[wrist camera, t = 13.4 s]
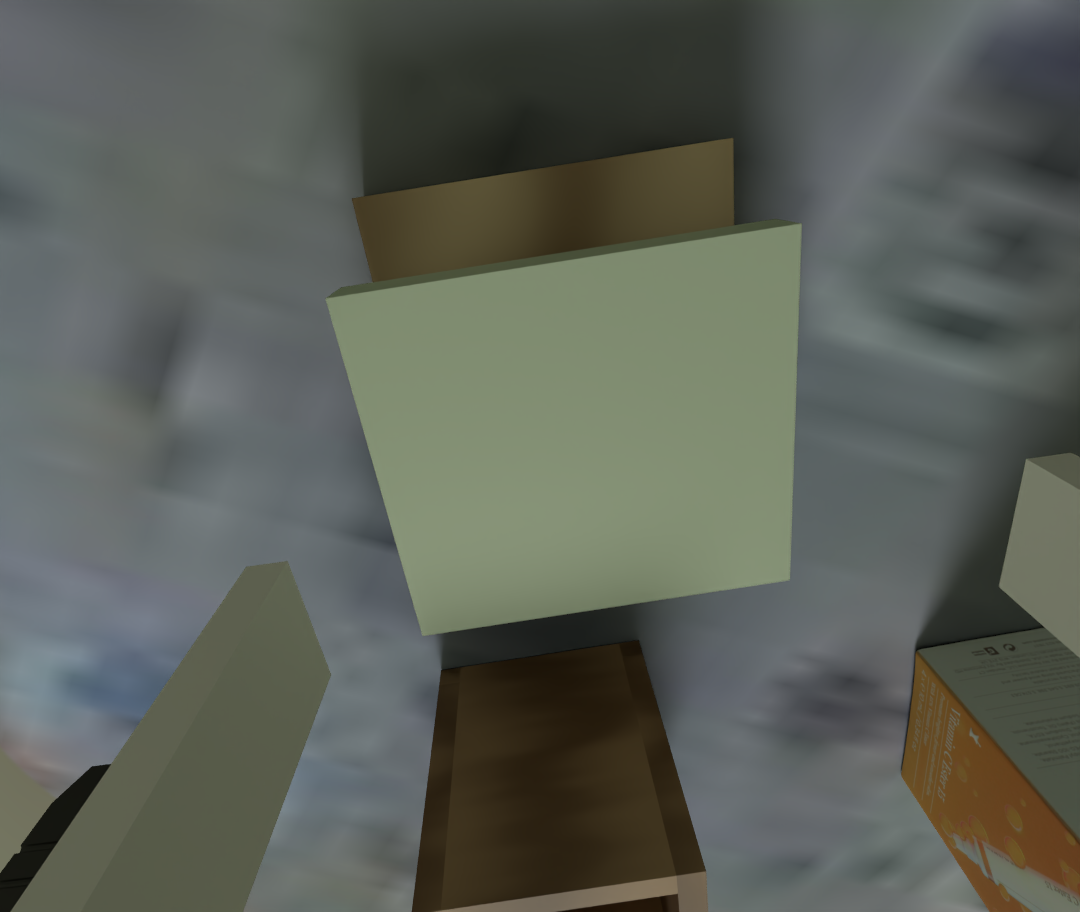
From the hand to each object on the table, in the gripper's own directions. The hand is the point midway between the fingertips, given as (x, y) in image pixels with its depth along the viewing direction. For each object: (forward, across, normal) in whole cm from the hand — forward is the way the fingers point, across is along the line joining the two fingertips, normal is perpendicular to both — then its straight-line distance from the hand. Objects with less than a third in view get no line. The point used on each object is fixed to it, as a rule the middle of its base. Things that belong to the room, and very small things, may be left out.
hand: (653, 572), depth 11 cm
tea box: (+10, -3, -15) cm, 18 cm away
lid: (+7, -1, 0) cm, 7 cm away
